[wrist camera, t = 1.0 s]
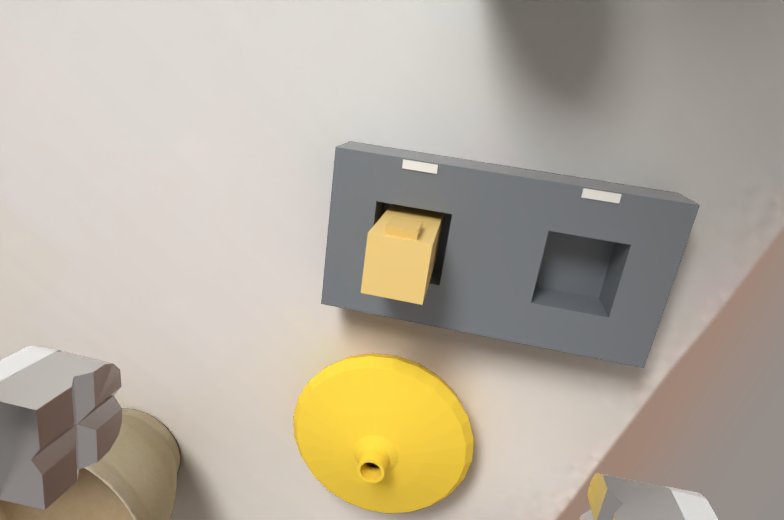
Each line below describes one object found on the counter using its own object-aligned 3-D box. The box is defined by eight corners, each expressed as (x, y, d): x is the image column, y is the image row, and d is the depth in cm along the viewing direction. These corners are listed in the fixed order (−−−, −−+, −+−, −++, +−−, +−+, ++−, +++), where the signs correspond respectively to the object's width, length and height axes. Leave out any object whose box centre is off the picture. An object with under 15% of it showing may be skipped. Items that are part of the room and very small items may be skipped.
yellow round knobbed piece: (491, 361, 43) (492, 410, 37) (456, 505, 49) (451, 571, 42) (312, 322, 45) (282, 362, 38) (297, 465, 50) (269, 522, 44)
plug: (394, 194, 40) (368, 223, 31) (445, 203, 39) (434, 234, 31) (386, 250, 41) (360, 292, 33) (436, 259, 41) (422, 304, 32)
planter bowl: (211, 394, 49) (139, 474, 39) (211, 523, 55) (148, 622, 45) (61, 362, 51) (-44, 430, 41) (76, 489, 57) (-14, 576, 47)
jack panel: (350, 141, 39) (335, 147, 35) (677, 192, 36) (700, 205, 33) (335, 285, 43) (320, 304, 40) (629, 342, 40) (644, 368, 37)
